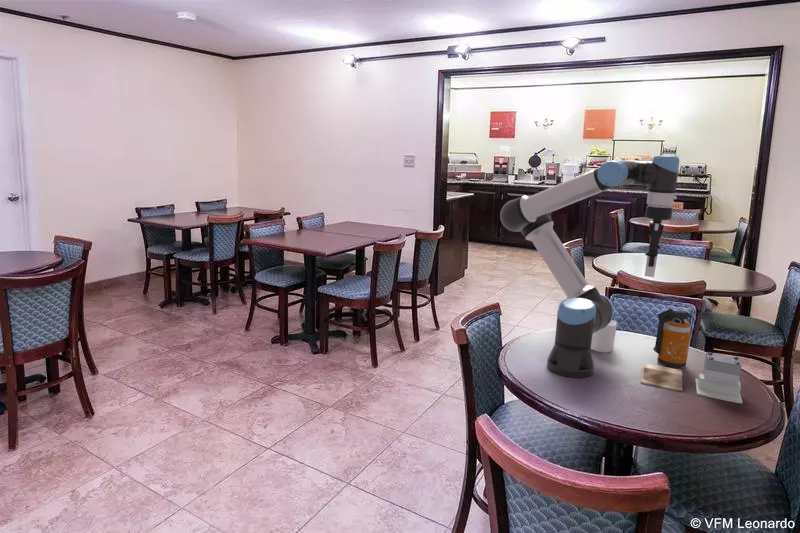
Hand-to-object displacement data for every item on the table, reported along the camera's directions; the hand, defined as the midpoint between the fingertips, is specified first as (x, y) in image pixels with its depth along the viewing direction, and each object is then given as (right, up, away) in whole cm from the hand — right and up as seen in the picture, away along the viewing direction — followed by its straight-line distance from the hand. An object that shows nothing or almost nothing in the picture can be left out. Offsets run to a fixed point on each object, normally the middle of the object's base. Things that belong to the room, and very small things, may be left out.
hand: (649, 272), depth 173 cm
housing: (+20, -33, -5) cm, 39 cm away
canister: (+14, -33, +16) cm, 39 cm away
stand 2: (+19, -37, -4) cm, 42 cm away
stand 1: (+5, -35, +3) cm, 36 cm away
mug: (-4, -29, +30) cm, 42 cm away
